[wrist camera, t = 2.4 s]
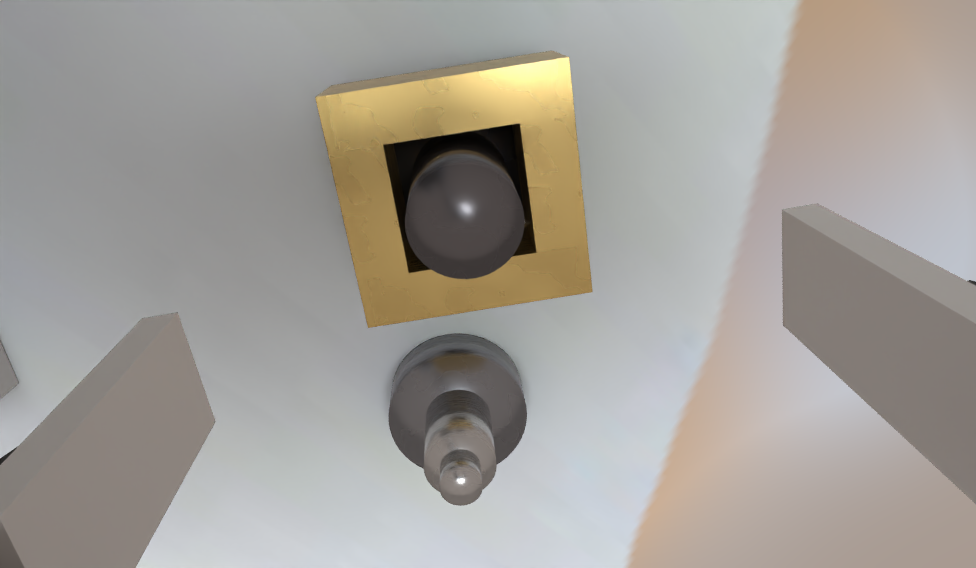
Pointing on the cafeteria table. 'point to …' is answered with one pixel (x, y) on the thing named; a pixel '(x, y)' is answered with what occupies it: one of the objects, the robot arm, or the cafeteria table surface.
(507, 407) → the cylinder
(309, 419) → the cafeteria table surface
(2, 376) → the gray bin
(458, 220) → the dark grey round-headed cylinder
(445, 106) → the gold square ring
